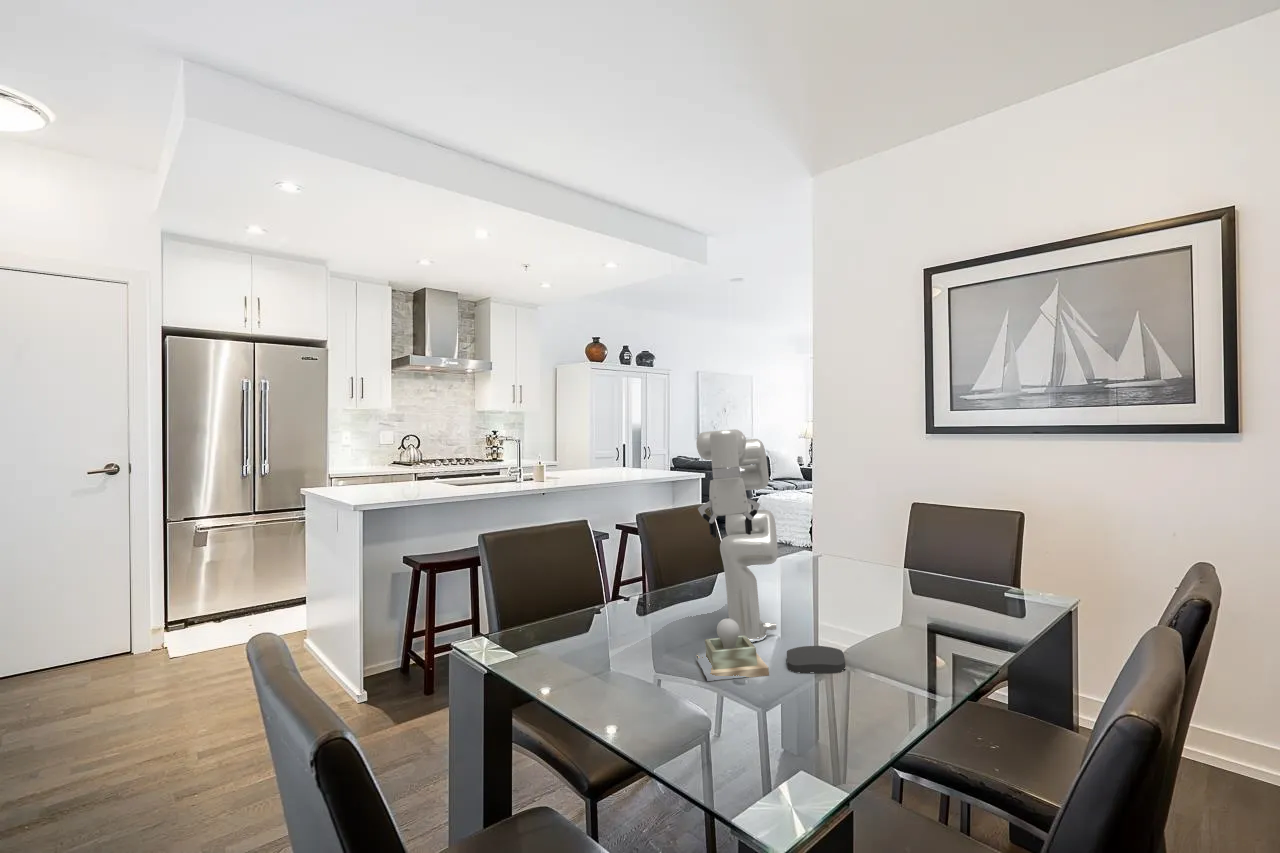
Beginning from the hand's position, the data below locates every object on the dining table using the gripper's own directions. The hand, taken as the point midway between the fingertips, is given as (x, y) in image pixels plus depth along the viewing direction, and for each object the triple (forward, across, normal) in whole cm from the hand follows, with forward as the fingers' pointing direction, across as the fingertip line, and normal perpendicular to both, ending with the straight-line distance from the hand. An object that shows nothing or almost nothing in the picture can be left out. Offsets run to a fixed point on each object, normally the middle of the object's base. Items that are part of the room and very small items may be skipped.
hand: (731, 535), depth 172 cm
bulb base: (+34, +4, +5) cm, 35 cm away
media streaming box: (+35, -18, +8) cm, 40 cm away
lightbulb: (+32, +4, +5) cm, 33 cm away
